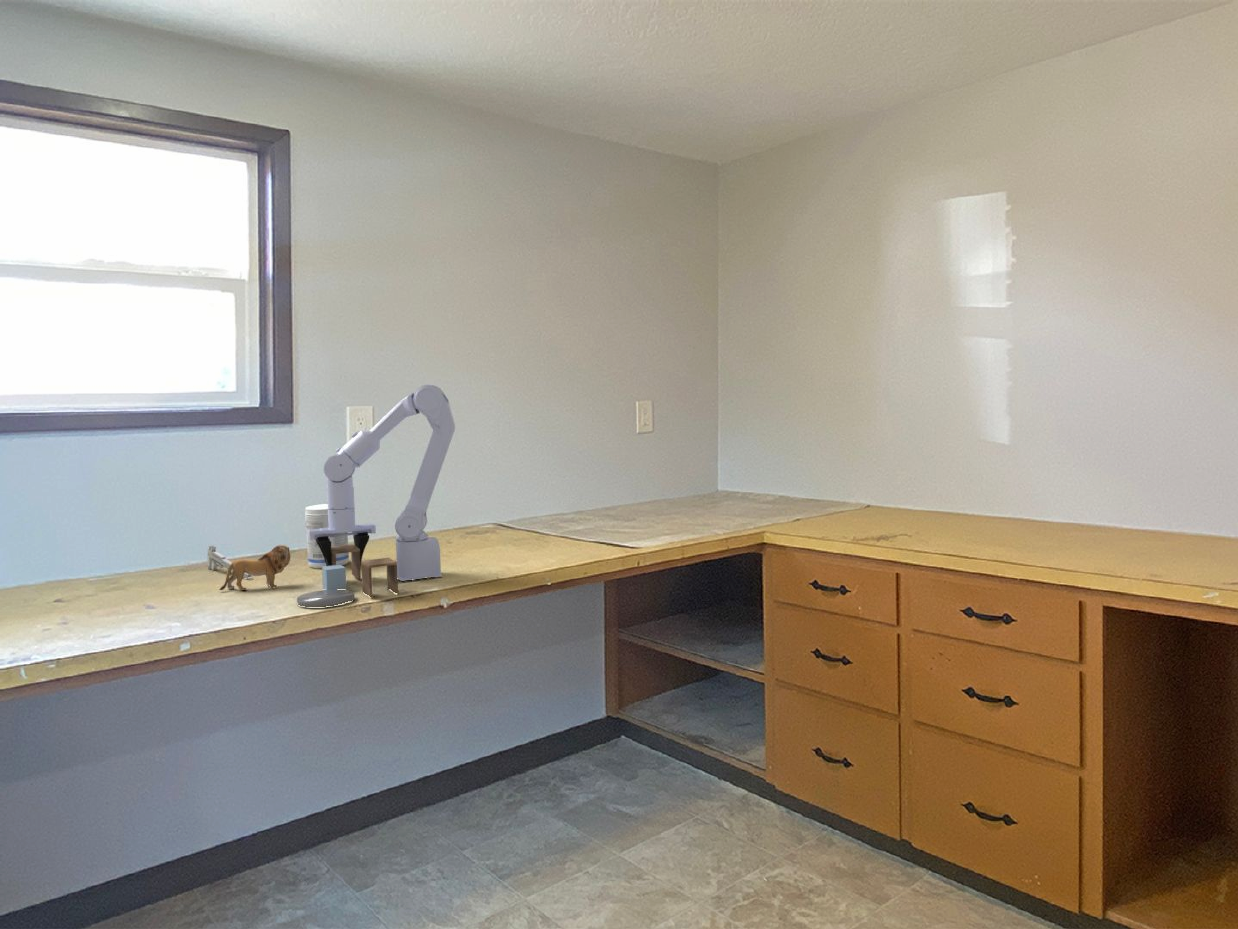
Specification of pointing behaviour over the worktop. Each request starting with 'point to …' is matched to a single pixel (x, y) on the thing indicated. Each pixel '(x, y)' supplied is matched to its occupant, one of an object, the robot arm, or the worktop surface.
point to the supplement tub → (319, 519)
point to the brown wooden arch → (354, 557)
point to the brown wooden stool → (367, 574)
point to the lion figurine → (259, 567)
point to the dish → (325, 598)
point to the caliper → (219, 561)
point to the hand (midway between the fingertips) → (343, 567)
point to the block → (334, 577)
